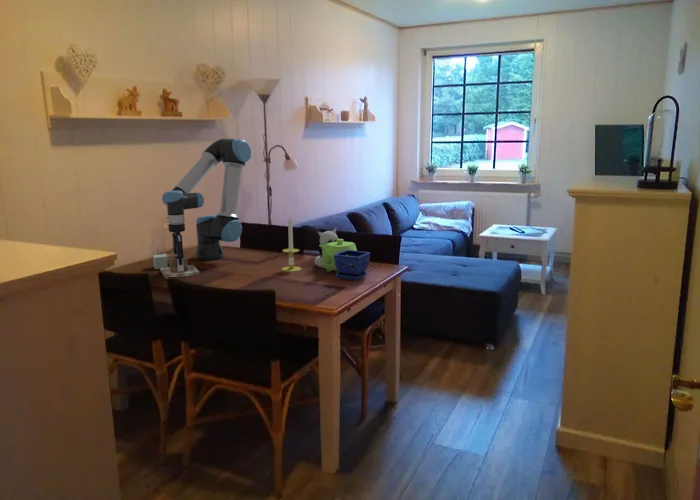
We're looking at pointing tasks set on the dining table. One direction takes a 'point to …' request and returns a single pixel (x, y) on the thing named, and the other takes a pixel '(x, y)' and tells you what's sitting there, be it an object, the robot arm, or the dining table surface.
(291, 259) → the candle
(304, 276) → the dining table surface
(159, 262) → the sage cube
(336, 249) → the teapot
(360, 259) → the flower pot
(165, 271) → the build board
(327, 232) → the decorative figurine
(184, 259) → the walnut block
